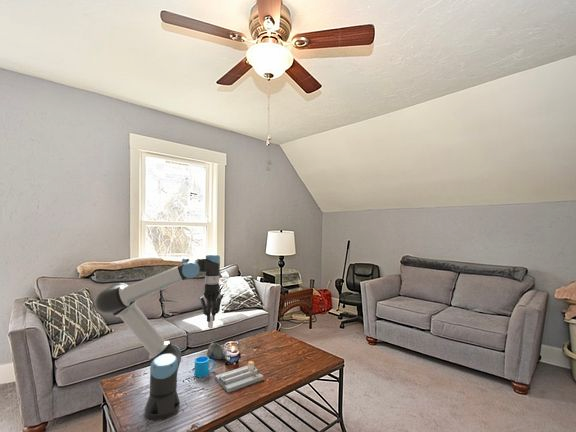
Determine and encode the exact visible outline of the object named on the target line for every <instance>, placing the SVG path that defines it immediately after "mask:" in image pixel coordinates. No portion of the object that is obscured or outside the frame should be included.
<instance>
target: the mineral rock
mask: <svg viewBox="0 0 576 432" xmlns="http://www.w3.org/2000/svg"><path fill="white" fill-rule="evenodd" d="M225 354H226V351H224V349H223V348H222V346H221V345H220V344H219V343H217V342H210V344H209V345H208V348H207V351H206V357H208V358H209V359H215V360H221V359H222V360H224V359H226V358H225Z"/></svg>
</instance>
